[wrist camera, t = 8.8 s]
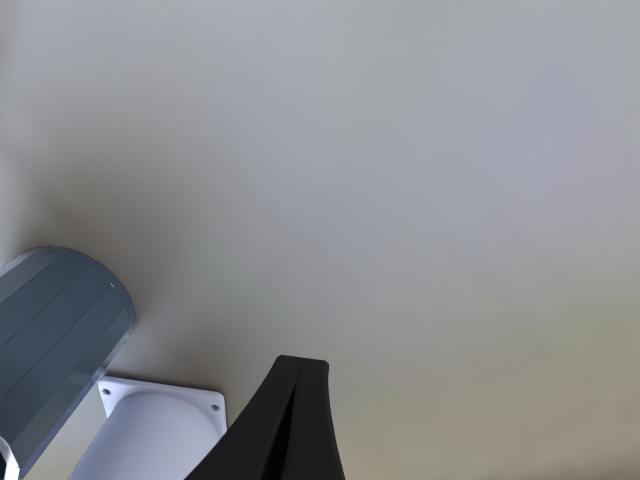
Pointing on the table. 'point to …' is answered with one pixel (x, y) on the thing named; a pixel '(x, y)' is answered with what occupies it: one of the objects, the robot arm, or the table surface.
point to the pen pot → (52, 345)
